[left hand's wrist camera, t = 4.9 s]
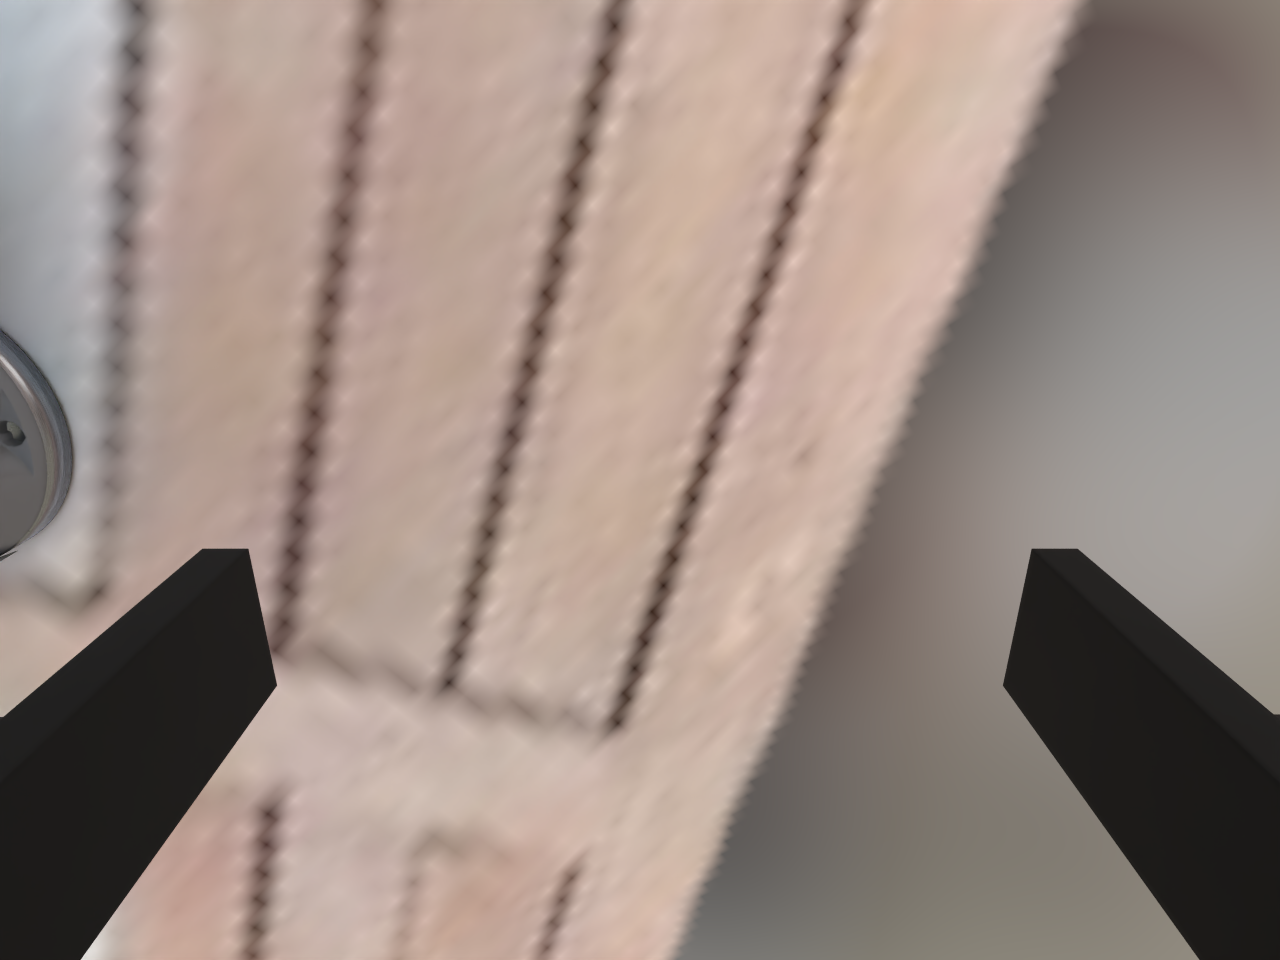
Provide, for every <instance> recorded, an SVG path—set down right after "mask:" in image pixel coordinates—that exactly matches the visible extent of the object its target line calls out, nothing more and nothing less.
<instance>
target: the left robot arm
mask: <svg viewBox="0 0 1280 960" xmlns="http://www.w3.org/2000/svg"><path fill="white" fill-rule="evenodd" d="M71 471H72V452H71V443H70V438H69V433H68V429H67V426H66V422H65V419H64V416H63V414H62V411H61V409H60V406H59V404H58V402H57V400H56V398H55V396H54V394H53V392H52V390H51V388H50V387H49V385H48V384H47V382H46V380H45V379H44V377H43V376H42V374H41V373H40V372H39V370H38V369H37V367H36V366H35V365H34V364H33V362H32V361H31V360H30V359H29V358H28V356H27V355H26V354H25V353H24V352H23V351H22V350H21V349H20V348H19V347H18V346H17V345H16V344H15V343H14V342H13V341H12V340H11V339H10V338H9V337H8V336H7V335H6V334H4V333H3V332H2V331H1V330H0V556H1V555H3V554H4V553H6V552H8V551H10V550H11V549H13V548H15V547H16V546H18V545H20V544H21V543H23V542H25V541H26V540H28V539H30V538H31V537H33V536H34V535H36V534H37V533H38V532H40V531H41V530H42V529H43V528H44V527H45V526H46V525H47V524H48V523H50V521H51V520H52V519H53V518H54V516H55V515H56V514H57V512H58V510H59V509H60V507H61V505H62V504H63V501H64V499H65V496H66V494H67V491H68V487H69V484H70V478H71ZM15 552H16V551H15ZM15 552H12V553H10V554H7V555H4V556H2V557H0V561H2V560H3V559H5V558H6V557H8V556H10V555H11V554H13V553H15ZM276 686H277V683H276V678H275V674H274V669H273V664H272V659H271V655H270V650H269V645H268V640H267V636H266V631H265V626H264V621H263V617H262V612H261V607H260V602H259V598H258V593H257V588H256V583H255V578H254V574H253V569H252V564H251V559H250V555H249V550H248V549H202V550H200V551H199V552H198V553H197V554H196V555H195V556H193V557H192V558H191V559H190V560H189V561H187V562H186V563H185V564H184V565H183V566H182V567H180V568H179V569H178V570H177V571H176V572H174V573H173V574H172V575H171V576H170V577H169V578H167V579H166V580H165V581H164V582H163V583H161V584H160V585H159V586H158V587H157V588H156V589H154V590H153V591H152V592H151V593H150V594H148V595H147V596H146V597H145V598H144V599H142V600H141V601H140V602H139V603H138V604H137V605H135V606H134V607H133V608H132V609H131V610H129V611H128V612H127V613H126V614H125V615H124V616H122V617H121V618H120V619H119V620H118V621H116V622H115V623H114V624H113V625H112V626H111V627H109V628H108V629H107V630H106V631H105V632H103V633H102V634H101V635H100V636H99V637H98V638H96V639H95V640H94V641H93V642H92V643H90V644H89V645H88V646H87V647H86V648H84V649H83V650H82V651H81V652H80V653H79V654H77V655H76V656H75V657H74V658H73V659H71V660H70V661H69V662H68V663H67V664H66V665H64V666H63V667H62V668H61V669H60V670H58V671H57V672H56V673H55V674H54V675H53V676H51V677H50V678H49V679H48V680H47V681H45V682H44V683H43V684H42V685H41V686H40V687H38V688H37V689H36V690H35V691H34V692H32V693H31V694H30V695H29V696H28V697H27V698H25V699H24V700H23V701H22V702H21V703H19V704H18V705H17V706H16V707H15V708H13V709H12V710H11V711H10V712H9V713H8V714H6V715H5V716H4V717H0V960H81V958H82V957H83V956H84V954H85V953H86V951H87V950H88V949H89V947H90V946H91V944H92V943H93V942H94V940H95V939H96V937H97V936H98V935H99V933H100V932H101V930H102V929H103V928H104V926H105V925H106V923H107V922H108V921H109V919H110V918H111V916H112V915H113V914H114V912H115V911H116V910H117V908H118V907H119V905H120V904H121V903H122V901H123V900H124V898H125V897H126V896H127V894H128V893H129V891H130V890H131V889H132V887H133V886H134V884H135V883H136V882H137V880H138V879H139V877H140V876H141V875H142V873H143V872H144V870H145V869H146V868H147V866H148V865H149V863H150V862H151V861H152V859H153V858H154V857H155V855H156V854H157V852H158V851H159V850H160V848H161V847H162V845H163V844H164V843H165V841H166V840H167V838H168V837H169V836H170V834H171V833H172V831H173V830H174V829H175V827H176V826H177V824H178V823H179V822H180V820H181V819H182V817H183V816H184V815H185V813H186V812H187V810H188V809H189V808H190V806H191V805H192V803H193V802H194V801H195V799H196V798H197V797H198V795H199V794H200V792H201V791H202V790H203V788H204V787H205V785H206V784H207V783H208V781H209V780H210V778H211V777H212V776H213V774H214V773H215V771H216V770H217V769H218V767H219V766H220V764H221V763H222V762H223V760H224V759H225V757H226V756H227V755H228V753H229V752H230V750H231V749H232V748H233V746H234V745H235V744H236V742H237V741H238V739H239V738H240V737H241V735H242V734H243V732H244V731H245V730H246V728H247V727H248V725H249V724H250V723H251V721H252V720H253V718H254V717H255V716H256V714H257V713H258V711H259V710H260V709H261V707H262V706H263V704H264V703H265V702H266V700H267V699H268V697H269V696H270V695H271V693H272V692H273V690H274V689H275V688H276ZM1003 686H1004V688H1005V689H1006V690H1007V692H1008V693H1009V695H1010V696H1011V697H1012V699H1013V700H1014V702H1015V703H1016V704H1017V706H1018V707H1019V709H1020V710H1021V711H1022V713H1023V714H1024V716H1025V717H1026V718H1027V720H1028V721H1029V723H1030V724H1031V725H1032V727H1033V728H1034V729H1035V731H1036V732H1037V734H1038V735H1039V736H1040V738H1041V739H1042V741H1043V742H1044V743H1045V745H1046V746H1047V748H1048V749H1049V750H1050V752H1051V753H1052V755H1053V756H1054V757H1055V759H1056V760H1057V762H1058V763H1059V764H1060V766H1061V767H1062V769H1063V770H1064V771H1065V773H1066V774H1067V776H1068V777H1069V778H1070V780H1071V781H1072V783H1073V784H1074V785H1075V787H1076V788H1077V790H1078V791H1079V792H1080V794H1081V795H1082V796H1083V798H1084V799H1085V801H1086V802H1087V803H1088V805H1089V806H1090V808H1091V809H1092V810H1093V812H1094V813H1095V815H1096V816H1097V817H1098V819H1099V820H1100V822H1101V823H1102V824H1103V826H1104V827H1105V829H1106V830H1107V831H1108V833H1109V834H1110V836H1111V837H1112V838H1113V840H1114V841H1115V842H1116V844H1117V845H1118V847H1119V848H1120V850H1121V851H1122V852H1123V854H1124V855H1125V856H1126V858H1127V859H1128V861H1129V862H1130V863H1131V865H1132V866H1133V868H1134V869H1135V870H1136V872H1137V873H1138V875H1139V876H1140V877H1141V879H1142V880H1143V882H1144V883H1145V884H1146V886H1147V887H1148V889H1149V890H1150V891H1151V893H1152V894H1153V896H1154V897H1155V898H1156V900H1157V901H1158V903H1159V904H1160V905H1161V907H1162V908H1163V909H1164V911H1165V912H1166V914H1167V915H1168V916H1169V918H1170V919H1171V921H1172V922H1173V923H1174V925H1175V926H1176V928H1177V929H1178V930H1179V932H1180V933H1181V935H1182V936H1183V937H1184V939H1185V940H1186V942H1187V943H1188V944H1189V946H1190V947H1191V949H1192V950H1193V951H1194V953H1195V954H1196V955H1197V957H1198V958H1199V960H1280V715H1274V714H1272V713H1271V712H1270V711H1269V710H1268V709H1267V708H1265V707H1264V706H1263V705H1262V704H1261V703H1259V702H1258V701H1257V700H1256V699H1255V698H1253V697H1252V696H1251V695H1250V694H1249V693H1248V692H1246V691H1245V690H1244V689H1243V688H1242V687H1240V686H1239V685H1238V684H1237V683H1236V682H1235V681H1233V680H1232V679H1231V678H1230V677H1229V676H1227V675H1226V674H1225V673H1224V672H1223V671H1222V670H1220V669H1219V668H1218V667H1217V666H1216V665H1214V664H1213V663H1212V662H1211V661H1210V660H1209V659H1207V658H1206V657H1205V656H1204V655H1202V654H1201V653H1200V652H1199V651H1198V650H1197V649H1195V648H1194V647H1193V646H1192V645H1191V644H1190V643H1188V642H1187V641H1186V640H1185V639H1184V638H1182V637H1181V636H1180V635H1179V634H1178V633H1177V632H1175V631H1174V630H1173V629H1172V628H1171V627H1169V626H1168V625H1167V624H1166V623H1165V622H1163V621H1162V620H1161V619H1160V618H1159V617H1158V616H1156V615H1155V614H1154V613H1153V612H1152V611H1151V610H1149V609H1148V608H1147V607H1146V606H1145V605H1143V604H1142V603H1141V602H1140V601H1139V600H1138V599H1136V598H1135V597H1134V596H1133V595H1132V594H1130V593H1129V592H1128V591H1127V590H1126V589H1124V588H1123V587H1122V586H1121V585H1120V584H1119V583H1117V582H1116V581H1115V580H1114V579H1113V578H1111V577H1110V576H1109V575H1108V574H1107V573H1106V572H1104V571H1103V570H1102V569H1101V568H1100V567H1098V566H1097V565H1096V564H1095V563H1094V562H1093V561H1091V560H1090V559H1089V558H1088V557H1087V556H1085V555H1084V554H1083V553H1082V552H1081V551H1079V550H1078V549H1032V550H1031V555H1030V560H1029V564H1028V569H1027V574H1026V579H1025V583H1024V588H1023V593H1022V598H1021V602H1020V607H1019V612H1018V617H1017V622H1016V626H1015V631H1014V636H1013V640H1012V645H1011V650H1010V655H1009V659H1008V664H1007V669H1006V674H1005V678H1004V683H1003Z"/></svg>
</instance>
